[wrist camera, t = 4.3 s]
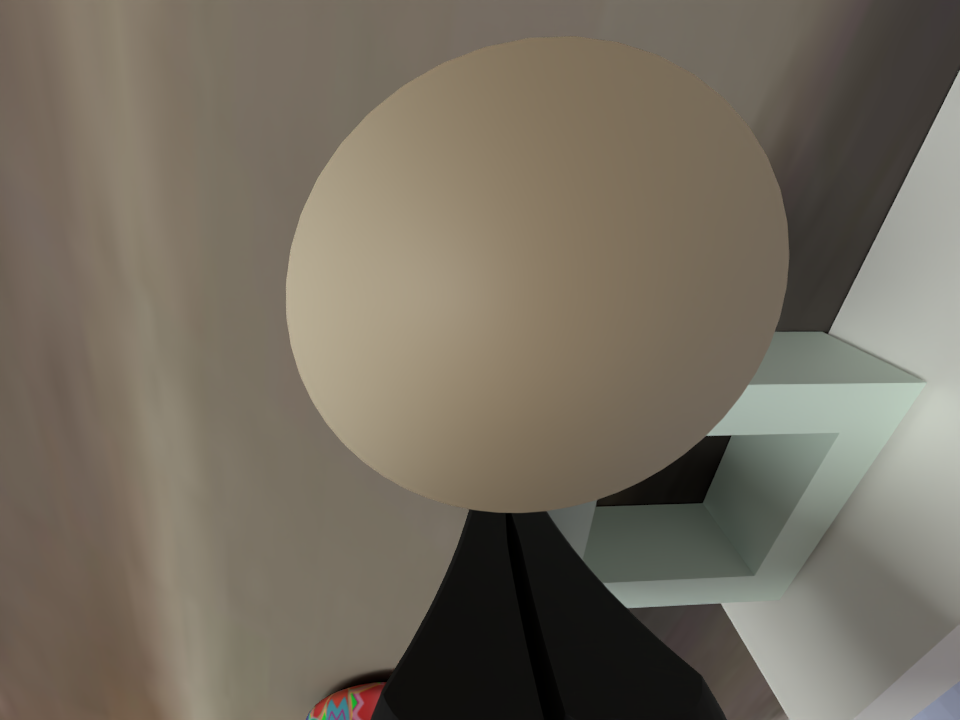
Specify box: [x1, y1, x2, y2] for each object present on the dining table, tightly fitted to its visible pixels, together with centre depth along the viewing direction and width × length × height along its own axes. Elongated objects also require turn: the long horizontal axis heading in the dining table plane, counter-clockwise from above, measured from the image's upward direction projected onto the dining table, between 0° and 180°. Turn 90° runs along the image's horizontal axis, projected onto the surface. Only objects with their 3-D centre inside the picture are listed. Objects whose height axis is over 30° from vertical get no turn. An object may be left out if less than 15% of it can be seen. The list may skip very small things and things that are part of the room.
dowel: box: [286, 36, 789, 513], centre depth 6 cm, size 3×3×8 cm
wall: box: [721, 71, 960, 720], centre depth 11 cm, size 2×20×6 cm, turn 179°
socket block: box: [547, 332, 927, 608], centre depth 12 cm, size 9×9×3 cm
